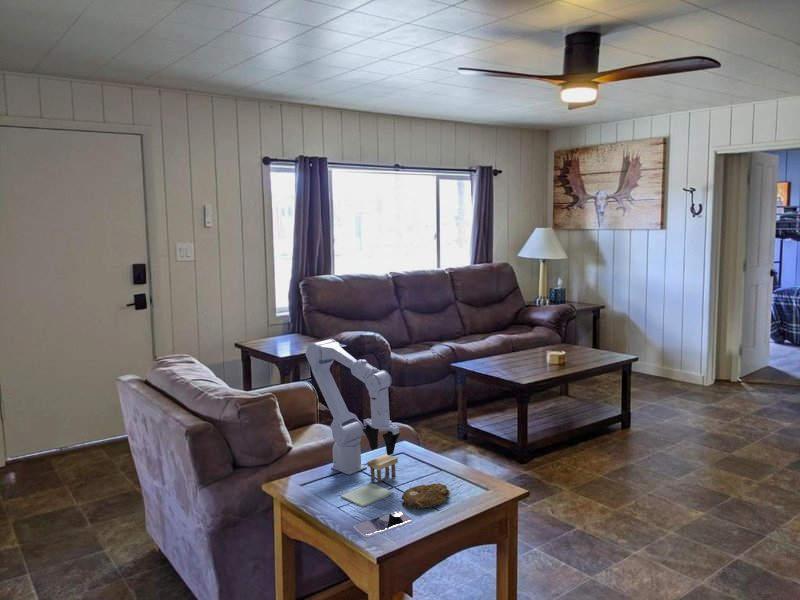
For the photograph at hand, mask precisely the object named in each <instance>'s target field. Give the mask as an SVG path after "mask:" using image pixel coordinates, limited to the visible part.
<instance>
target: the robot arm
mask: <svg viewBox="0 0 800 600" xmlns="http://www.w3.org/2000/svg"><path fill="white" fill-rule="evenodd" d="M305 357H306V359H307V362H308V364H309V365H310V369H311V372H312V375H313V377H314V379H315V381H316V383H317V385H318V388H319V389H320V392H321V394H322V397H323V398H324V401H325V403H326V404H327V407H328V409H329V411H330V414H331V416H332V417H333V419H332V422H331V423H330V430H331V433H332V439H333V441H334V443H333V445H332V464H333V465H332V466H331V469H333V470H336V471H338V472H340V473H343V474H346V475H352V474H355V473H357V472H359V471H362V470H364V469H367V468H368V465H364V464H363V463H362V456H361V455H362V453H361V441H362V437H363V436H364V435H365V436H366V438H367V441H368V443H369V447H370V450H371V451H374V450H376V449H378V448H379V447H378V446H379V442H378V441H379V431H380V430H381V431H383V432H384V431H385V432H386V433H383V434H382V435H381V436H382V438H383V440H384V443H385V452H386V454H387V455H390V456H393V455H394V454H395V447H396V444H397V441H398V438H399V436H400V434H401V432H400V427H399V426H396V425H395V424H393V423H392V422H393V421H392V420H390V401H389V398H390V397H389V387H391V385H392V375H390V373H389V372H388V371H387V370H385V369H381V370H380V369H378V368H377V367H375V366H373V365H371V364H369V362H368V361H367V360H366V359H361V358H360V359H356V358H355V357H354V356H352V355H351V354H350V353H348V351H346V350H345V349H344V348H342V347H341V345H340V342H338V341H336V340H335V339H333V338H328V339H324V340H321V341H317V342H311V343H309V344H308V345H307V347H306V351H305ZM334 361H336V362H338V363H340V364H341V365H343V366H345V367H347V368H348V369H350V372H351V375H353V376H354V377H355V378H357V379H358V380H359V381H361V382H362V383H364V384H365V388H366V390H367V391H368V396H369V398H370V400H369V401H370V416H371V418H366V419H363V423H362V421H360V420H359V418H358V416H357V415H356V414H355V413H352V412H351V411H349V409H348V407H347V405H346V403H345V401H344V398H343V397H342V394H341V392H340V390H339V388H338V385H337V384H336V383H337V382H336V381H335V379H334V377H333V375H332V373H331V370H330V368H331V366H332V364H333V362H334Z"/></svg>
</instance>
